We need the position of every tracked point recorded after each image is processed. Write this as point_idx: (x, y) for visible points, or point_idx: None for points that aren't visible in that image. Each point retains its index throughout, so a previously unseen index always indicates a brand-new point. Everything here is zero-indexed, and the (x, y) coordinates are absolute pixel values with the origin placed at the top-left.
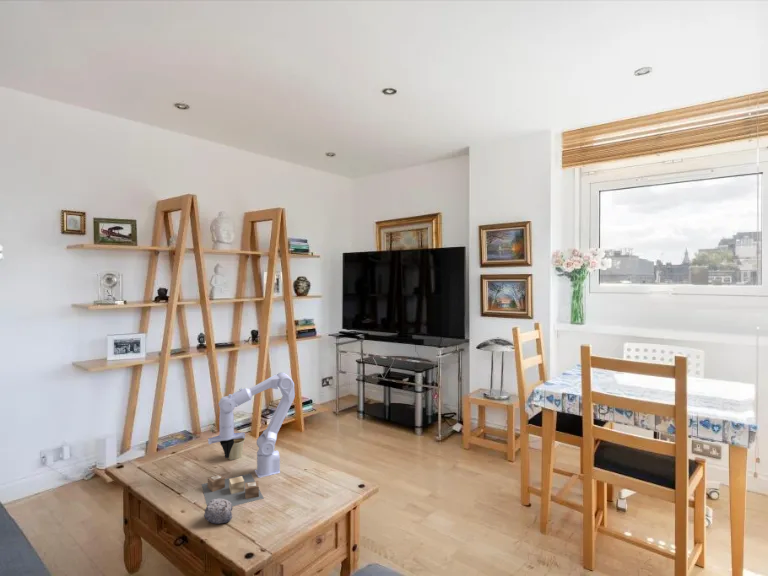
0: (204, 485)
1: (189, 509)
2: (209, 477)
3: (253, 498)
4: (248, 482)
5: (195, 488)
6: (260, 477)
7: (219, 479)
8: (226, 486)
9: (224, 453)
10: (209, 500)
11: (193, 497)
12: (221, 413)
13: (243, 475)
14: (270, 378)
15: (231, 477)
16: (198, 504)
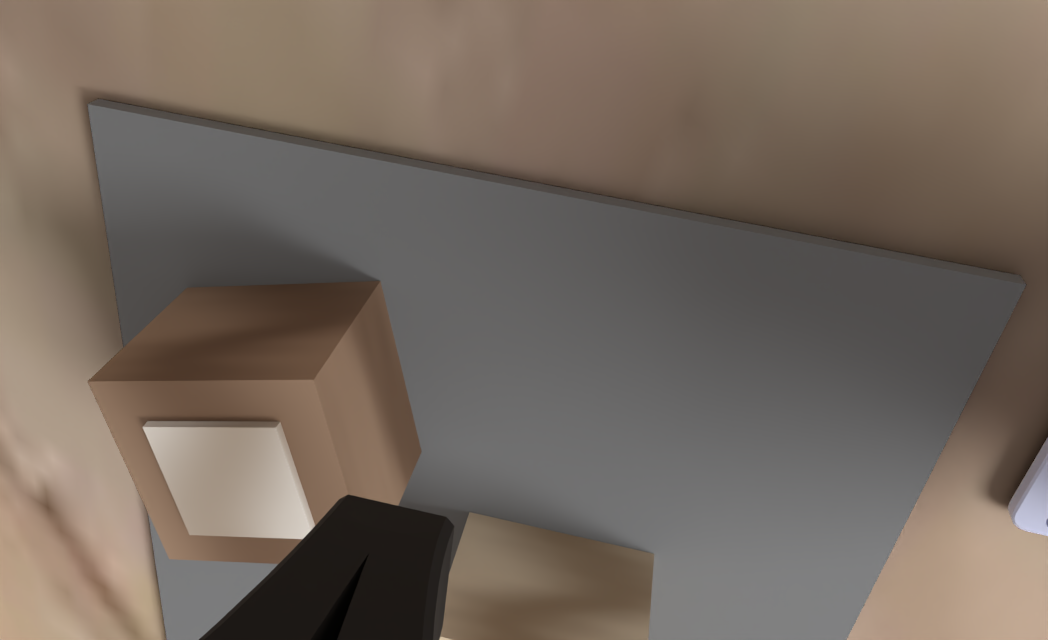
0: (140, 190)
1: (8, 576)
2: (121, 395)
3: None
4: None
5: (15, 153)
6: (1038, 527)
7: (281, 560)
8: (451, 439)
9: (275, 588)
10: (197, 591)
11: (18, 386)
12: None
13: (853, 280)
14: None
15: (625, 211)
16: (90, 554)
